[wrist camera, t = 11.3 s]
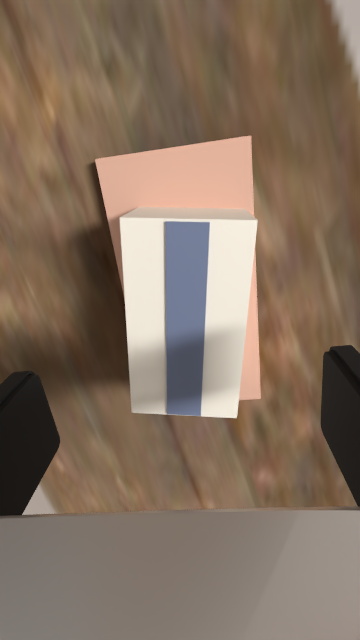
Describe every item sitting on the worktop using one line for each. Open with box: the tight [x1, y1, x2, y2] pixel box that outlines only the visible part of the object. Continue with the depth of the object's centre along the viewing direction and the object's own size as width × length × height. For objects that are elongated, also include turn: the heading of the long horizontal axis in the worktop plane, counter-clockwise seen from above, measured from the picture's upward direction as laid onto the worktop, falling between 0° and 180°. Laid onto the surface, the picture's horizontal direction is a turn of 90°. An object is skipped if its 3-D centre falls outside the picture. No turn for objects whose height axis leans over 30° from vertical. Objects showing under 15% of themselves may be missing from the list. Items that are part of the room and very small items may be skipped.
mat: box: [95, 136, 261, 400], centre depth 18 cm, size 14×7×1 cm, turn 7°
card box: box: [120, 207, 258, 418], centre depth 15 cm, size 5×9×4 cm, turn 179°
